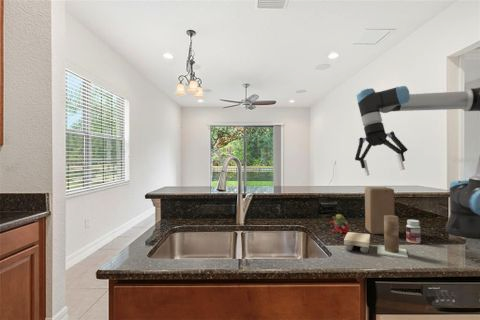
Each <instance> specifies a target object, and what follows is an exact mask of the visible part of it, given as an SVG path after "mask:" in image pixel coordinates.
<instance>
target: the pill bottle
mask: <svg viewBox="0 0 480 320" xmlns="http://www.w3.org/2000/svg"><path fill="white" fill-rule="evenodd" d="M406 223H407V224H406V225H405V229H406V230H405V233H406V234H405V236H406V242H408V243H412V244H421V240H422V239H421V236H422V235H421V234H422V233H421V228H422V227H421V226H420V221H419V220H417V219H407V220H406Z"/></svg>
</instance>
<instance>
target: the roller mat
mask: <svg viewBox="0 0 480 320" xmlns="http://www.w3.org/2000/svg"><path fill="white" fill-rule="evenodd" d="M376 250H377V251H376V255H380V256H381V255H382V256H389V257H394V258H395V257H396V258H404V259H409V256H408V252H407V248H401V247H399V252H398V253H392V252H387V251H385V245H377V249H376Z"/></svg>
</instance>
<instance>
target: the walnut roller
mask: <svg viewBox="0 0 480 320" xmlns="http://www.w3.org/2000/svg"><path fill="white" fill-rule="evenodd" d="M399 228H400V227H399V216H397V215H395V216H394V215H384V234H383V237H384V240H383V241H384V244H383V246H385V251H387V252H392V253H398V252H399V248H400V240H399V239H400V238H399V237H400V236H399V235H400V234H399V232H400V231H399V230H400V229H399Z"/></svg>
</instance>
